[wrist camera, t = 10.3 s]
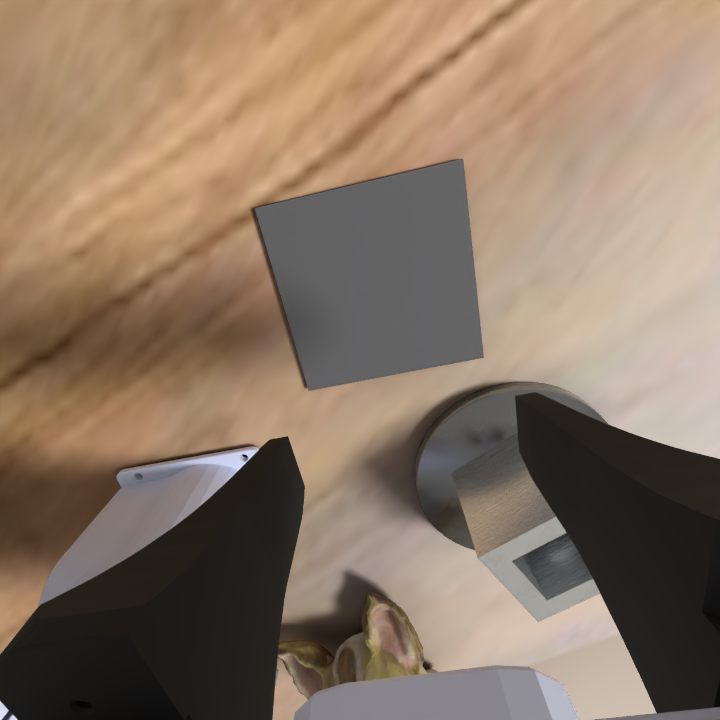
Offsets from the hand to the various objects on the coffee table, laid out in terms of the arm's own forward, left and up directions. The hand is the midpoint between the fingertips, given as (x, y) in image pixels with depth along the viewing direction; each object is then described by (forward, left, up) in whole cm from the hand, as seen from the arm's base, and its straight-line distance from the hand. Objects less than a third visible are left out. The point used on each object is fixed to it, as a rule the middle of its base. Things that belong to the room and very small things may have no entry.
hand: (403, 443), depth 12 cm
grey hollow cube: (+6, -10, -9) cm, 14 cm away
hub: (+6, -10, -10) cm, 15 cm away
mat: (0, +3, -10) cm, 10 cm away
